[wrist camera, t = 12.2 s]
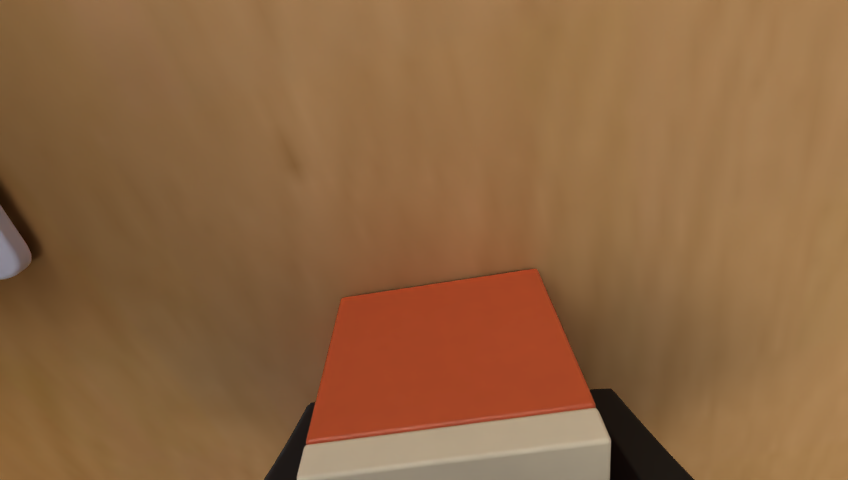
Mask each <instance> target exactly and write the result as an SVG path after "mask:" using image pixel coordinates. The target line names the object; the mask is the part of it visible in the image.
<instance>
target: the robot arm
mask: <svg viewBox="0 0 848 480" xmlns="http://www.w3.org/2000/svg"><path fill="white" fill-rule="evenodd" d="M30 263H31V252H30V250H29V248H28V246H27V244H26V243H25V241H24V240H23V238H22V237H21V235H20V234H19V232H18V231H17V229H16V228H15V226H14V225H13V223H12V222H11V220H10V219H9V217H8V216H7V214H6V213H5V211H4V210H3V208H2V207H1V205H0V280H1V279H8V278H10V277H13V276H16V275H17V274H18V273H20V272H21V271H23V270H24V269H26V268H27V267H28V265H29V264H30ZM590 393H591V395H592V397H593V399H594V402H595V404H596V409H597V410H598V411H599V413H600V415H601V417H602V420H603V422H604V424H605V427H606V429H607V431H608V434H609V436H610V438H611V459H610V480H694V479H693V478H692V477H691V476H690V475H689V474H688V473H687V472H686V471H685V469H684V468H683V467H682V466H681V465H680V464H679V463H678V462H677V461H676V460H675V459H674V458H673V457H672V456H671V455H670V454H669V453H668V452H667V450H666V449H665V448H664V447H663V446H662V445H661V444H660V443H659V442H658V441H657V440H656V438H655V437H654V436H653V435H652V434H651V433H650V432H649V431H648V430H647V429H646V427H645V426H644V425H643V424H642V423H641V422H640V421H639V419H638V418H637V417H636V416H635V415H634V414H633V413H632V412H631V410H630V409H629V408H628V407H627V406H626V405H625V404H624V402H623V401H622V400H621V399H620V398H619V397H618V395H617V394H616V393H615V392H614V391H613V390H612V389H591V390H590ZM314 406H315V402H313V403H310V404H309V405H308V406H307V407H306V409H305V411H304V413H303V415H302V417H301V419H300V420H299V422H298V424H297V426H296V428H295V429H294V431H293V433H292V435H291V436H290V438H289V440H288V441H287V443H286V445H285V447H284V448H283V450H282V452H281V453H280V455H279V456H278V458H277V460H276V461H275V463H274V465H273V466H272V468H271V469H270V471H269V473H268V474H267V476H266V477H265V479H264V480H297V474H298V470H299V466H300V462H301V458H302V454H303V450H304V447H305V446H306V439H307V435H308V431H309V427H310V423H311V418H312V414H313V410H314Z"/></svg>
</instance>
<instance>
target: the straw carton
mask: <svg viewBox="0 0 848 480" xmlns="http://www.w3.org/2000/svg"><path fill="white" fill-rule="evenodd" d="M610 459H611V438H610V436H609V434H608V431H607V429H606V427H605V424H604V422H603V420H602V417H601V415H600V413H599V411H598V410H597V409H596V404H595V402H594V399H593V397H592V395H591V393H590V390H589V388H588V386H587V383H586V381H585V379H584V376H583V374H582V372H581V369H580V367H579V365H578V362H577V360H576V358H575V355H574V353H573V351H572V348H571V346H570V344H569V342H568V339H567V337H566V335H565V332H564V330H563V328H562V325H561V323H560V321H559V318H558V316H557V314H556V311H555V309H554V307H553V304H552V302H551V300H550V297H549V295H548V293H547V290H546V288H545V286H544V284H543V281H542V279H541V277H540V274H539V272H538V270H537V269H529V270H522V271H516V272H509V273H502V274H496V275H489V276H483V277H476V278H469V279H463V280H456V281H450V282H443V283H436V284H430V285H423V286H416V287H410V288H403V289H397V290H390V291H383V292H377V293H370V294H363V295H357V296H350V297H344V298H342V299H341V301H340V305H339V309H338V313H337V318H336V322H335V326H334V330H333V334H332V338H331V342H330V346H329V350H328V354H327V358H326V362H325V366H324V370H323V374H322V378H321V382H320V386H319V390H318V394H317V398H316V402H315V406H314V410H313V414H312V418H311V423H310V427H309V431H308V435H307V439H306V446H305V447H304V450H303V454H302V458H301V462H300V466H299V470H298V474H297V480H610Z"/></svg>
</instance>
